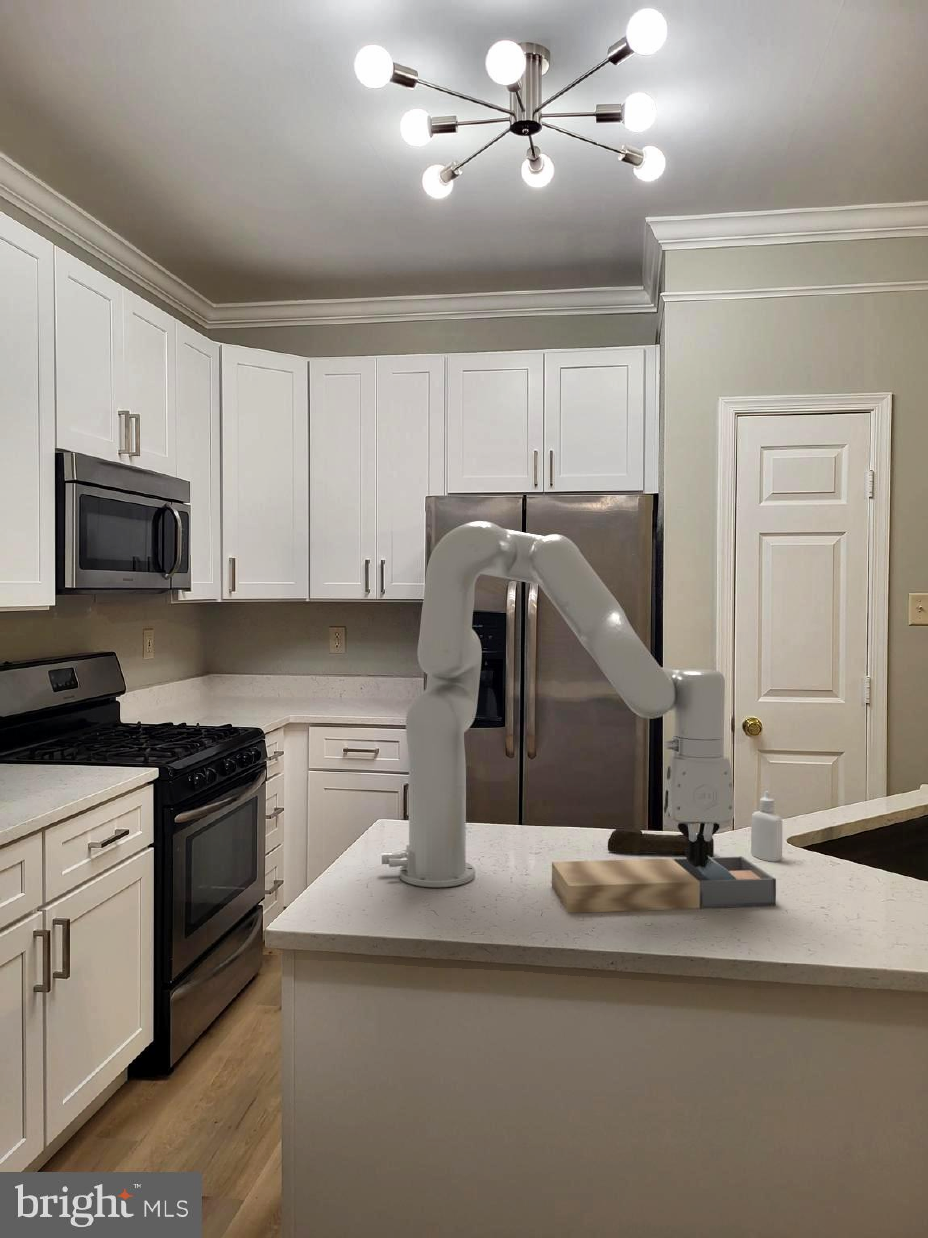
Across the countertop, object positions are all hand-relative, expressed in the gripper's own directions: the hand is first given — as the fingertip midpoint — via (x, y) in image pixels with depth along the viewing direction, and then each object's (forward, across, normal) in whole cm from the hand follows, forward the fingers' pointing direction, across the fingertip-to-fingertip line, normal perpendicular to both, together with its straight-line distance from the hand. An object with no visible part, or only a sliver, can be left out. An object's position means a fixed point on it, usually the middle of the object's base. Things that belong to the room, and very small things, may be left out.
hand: (696, 864), depth 136 cm
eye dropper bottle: (+5, +20, +18) cm, 27 cm away
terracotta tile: (+2, +7, 0) cm, 8 cm away
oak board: (+5, -12, 0) cm, 13 cm away
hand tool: (+5, +2, +22) cm, 23 cm away
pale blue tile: (+2, +2, -1) cm, 3 cm away
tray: (+5, +4, 0) cm, 6 cm away
